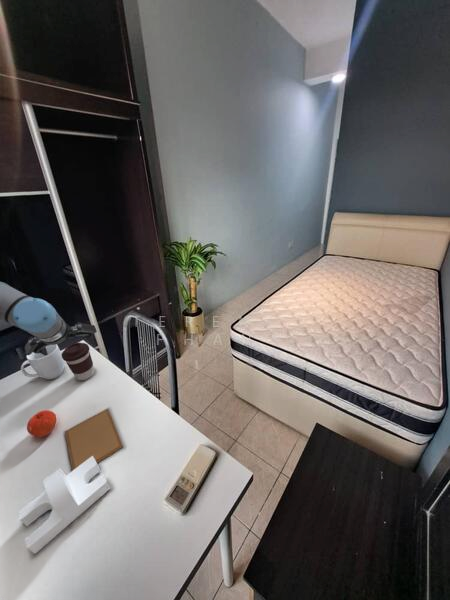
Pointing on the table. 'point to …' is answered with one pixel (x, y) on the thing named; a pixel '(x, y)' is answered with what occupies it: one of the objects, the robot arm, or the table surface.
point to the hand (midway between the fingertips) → (67, 344)
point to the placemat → (93, 439)
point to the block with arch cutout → (63, 501)
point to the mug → (45, 363)
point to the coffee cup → (79, 360)
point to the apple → (42, 423)
